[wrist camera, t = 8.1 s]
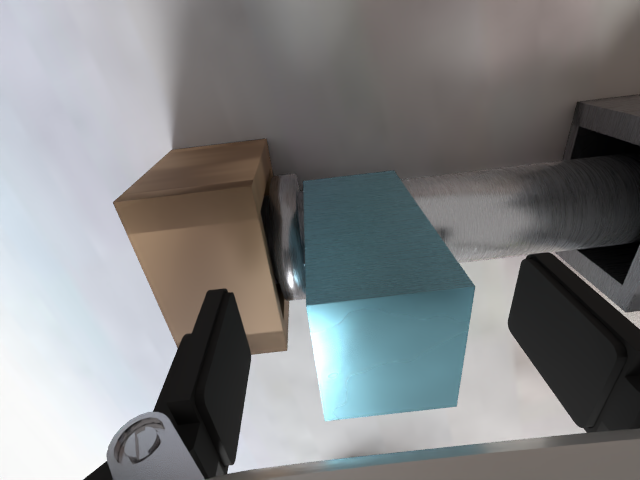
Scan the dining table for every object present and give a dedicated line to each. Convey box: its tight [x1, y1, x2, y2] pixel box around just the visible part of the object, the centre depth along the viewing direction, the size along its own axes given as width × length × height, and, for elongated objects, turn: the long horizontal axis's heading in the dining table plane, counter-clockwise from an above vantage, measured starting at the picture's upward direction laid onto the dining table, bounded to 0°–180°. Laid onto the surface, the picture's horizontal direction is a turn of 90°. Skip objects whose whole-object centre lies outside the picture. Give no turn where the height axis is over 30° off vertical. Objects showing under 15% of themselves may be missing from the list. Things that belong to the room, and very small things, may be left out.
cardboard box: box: [113, 139, 289, 355], centre depth 16 cm, size 4×8×6 cm, turn 6°
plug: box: [260, 153, 640, 421], centre depth 14 cm, size 19×6×10 cm, turn 96°
